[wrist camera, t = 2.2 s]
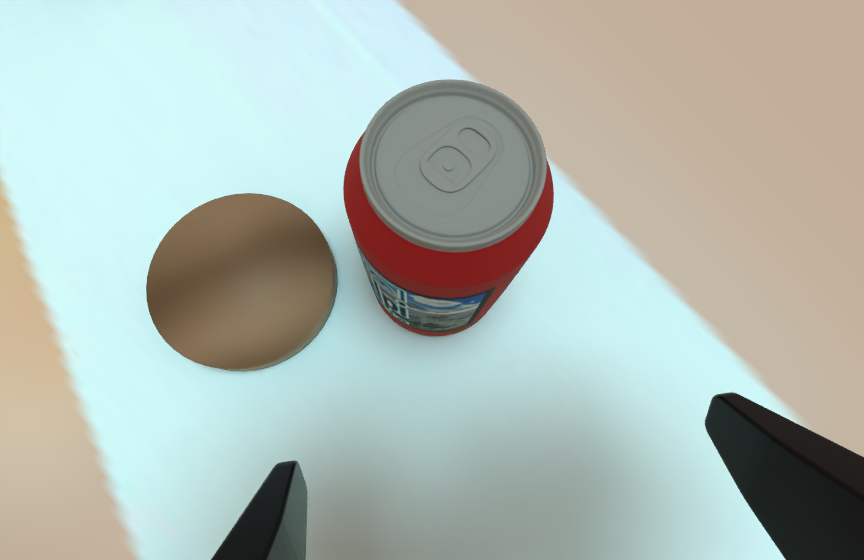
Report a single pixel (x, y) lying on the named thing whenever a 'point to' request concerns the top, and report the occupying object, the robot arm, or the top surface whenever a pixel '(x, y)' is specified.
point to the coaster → (242, 283)
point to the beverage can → (447, 202)
